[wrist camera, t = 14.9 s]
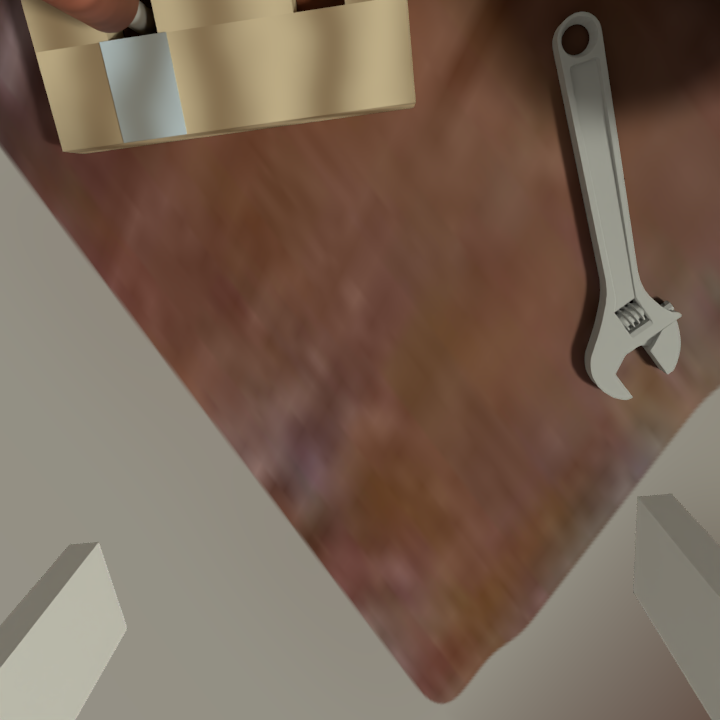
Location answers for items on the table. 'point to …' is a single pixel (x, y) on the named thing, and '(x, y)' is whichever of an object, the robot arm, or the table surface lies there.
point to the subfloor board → (220, 69)
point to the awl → (110, 14)
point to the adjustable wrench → (609, 219)
